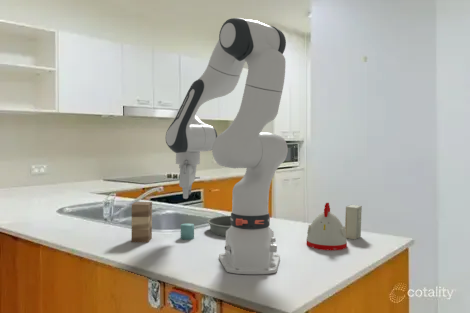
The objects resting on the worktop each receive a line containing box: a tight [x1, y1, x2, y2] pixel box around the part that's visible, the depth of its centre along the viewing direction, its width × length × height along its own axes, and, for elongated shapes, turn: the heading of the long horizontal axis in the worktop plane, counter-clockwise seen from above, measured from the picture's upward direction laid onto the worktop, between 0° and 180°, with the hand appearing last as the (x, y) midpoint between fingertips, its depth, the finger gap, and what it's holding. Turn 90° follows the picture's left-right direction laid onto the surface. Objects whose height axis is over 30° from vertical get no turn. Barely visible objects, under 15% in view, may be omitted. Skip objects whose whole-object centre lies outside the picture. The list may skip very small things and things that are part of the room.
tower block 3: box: [131, 226, 153, 243], centre depth 147 cm, size 6×6×4 cm
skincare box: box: [344, 204, 363, 240], centre depth 155 cm, size 6×4×12 cm
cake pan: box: [206, 215, 231, 237], centre depth 164 cm, size 25×25×4 cm
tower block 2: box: [131, 214, 153, 231], centre depth 147 cm, size 6×6×4 cm
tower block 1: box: [131, 201, 153, 218], centre depth 146 cm, size 6×6×4 cm
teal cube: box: [180, 223, 195, 241], centre depth 151 cm, size 5×5×5 cm
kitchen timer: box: [306, 202, 348, 251], centre depth 143 cm, size 14×14×15 cm
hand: (187, 196), depth 151 cm, fingers open, 8 cm apart
